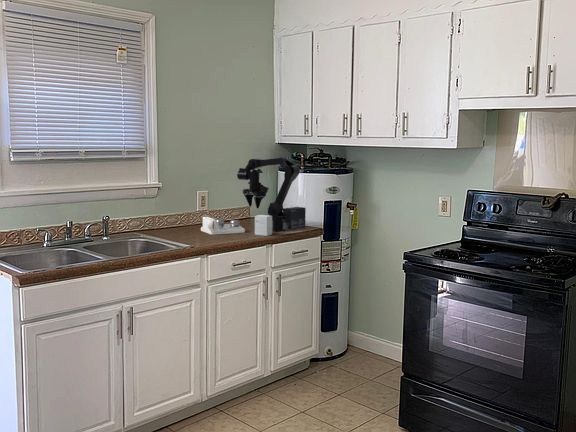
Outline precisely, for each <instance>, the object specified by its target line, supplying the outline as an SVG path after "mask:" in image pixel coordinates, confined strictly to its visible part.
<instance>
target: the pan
mask: <svg viewBox="0 0 576 432" xmlns="http://www.w3.org/2000/svg"><path fill="white" fill-rule="evenodd" d="M218 228H219V229H222V230H224V229H239V228H243V226H241V225H239V226H238V227H232V226H230V223H224V225H223V226H218Z"/></svg>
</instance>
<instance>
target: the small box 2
mask: <svg viewBox="0 0 576 432" xmlns="http://www.w3.org/2000/svg"><path fill="white" fill-rule="evenodd" d="M306 209H307V208H306V207H303V206H293V207H283V211H282V212H283V213H284V214H285V216H286V217H285V219H283V229H284V228H285V229H284V230H290V229H292V230H296V229H297V228H298V229H302V228H306Z"/></svg>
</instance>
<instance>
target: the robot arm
mask: <svg viewBox="0 0 576 432" xmlns="http://www.w3.org/2000/svg"><path fill="white" fill-rule="evenodd" d="M275 165H276V166H278V165H279V166H280V167H281V169H282V170H283V171H284V174H283V176H284V177H283V178H284V179H283V182H282V184H281V187H280V189H279V191H278V193H277V196H276V198H275V200H274V201H272V202H270V203H269V205H268V207H267V215H269V216H272V232H284V231H286V229H284V228H283V219H285V217H286V216H285V214H284V213H283V208H284V202H285V201H286V197H287V195H288V193H289V192H290V191H289V190H290V188H291V185H292V183H293V182H294V181H295V180H296V179H297V178H298V176H299V174H300V172H301V170H300V167H299V166H298V165H295V163H293V162H291V161H290V160H289V159H287V157H282V156H281V157H277V158H269V159H267V158H266V159H262V158H250V159H249V160H248V162H247V165H246V166H245V167H240V168H239V170H238V171H237V174H236V176H237V179H238V180H243V181H248V182H247V184H248V185H249V186H248V188H243V189H242V195H244V197H245V199H246V202H247V204H248V207H252V205H253V199H254V204H255V207H256V209H259V208H260V205H261V202H262V201H263V199H264V198H265V197H267V193H268V191H269V187H266V186H265V185H263V184H262V182H260V174H263V172H264V171H263V170H262V169H261V168H264V167H266V166H267V167H269V166H275Z"/></svg>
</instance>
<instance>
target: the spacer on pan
mask: <svg viewBox="0 0 576 432" xmlns="http://www.w3.org/2000/svg"><path fill="white" fill-rule="evenodd" d="M215 220H216V221H217V222H218V226H223V225H224V224H225V220H224V219H223V218H215Z"/></svg>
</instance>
